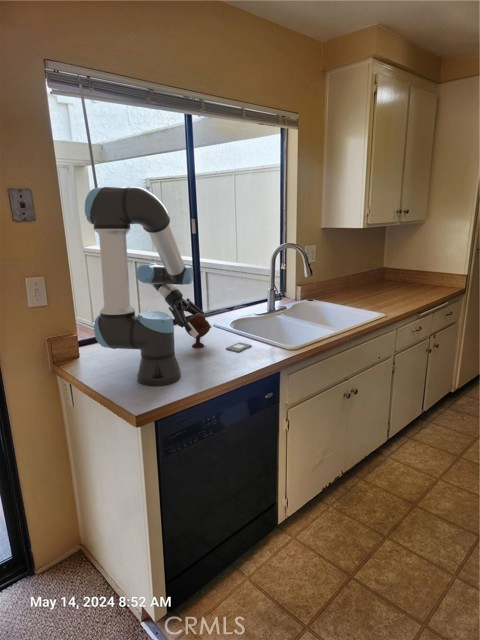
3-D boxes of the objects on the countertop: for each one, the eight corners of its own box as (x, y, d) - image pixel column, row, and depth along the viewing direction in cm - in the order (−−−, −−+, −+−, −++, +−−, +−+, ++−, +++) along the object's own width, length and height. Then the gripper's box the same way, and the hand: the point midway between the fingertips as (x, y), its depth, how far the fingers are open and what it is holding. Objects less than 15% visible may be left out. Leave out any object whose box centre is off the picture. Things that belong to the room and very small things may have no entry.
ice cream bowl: (213, 343, 182) (213, 310, 178) (205, 351, 171) (204, 316, 167) (191, 341, 184) (190, 309, 180) (181, 349, 174) (180, 315, 170)
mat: (238, 352, 170) (238, 350, 170) (226, 349, 174) (225, 347, 174) (251, 346, 177) (251, 344, 177) (239, 343, 181) (239, 342, 181)
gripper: (180, 294, 189) (210, 330, 187) (149, 305, 168) (183, 345, 166) (189, 283, 185) (221, 320, 183) (159, 293, 165) (194, 334, 163)
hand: (203, 332), depth 175 cm, fingers closed on ice cream bowl, 11 cm apart
